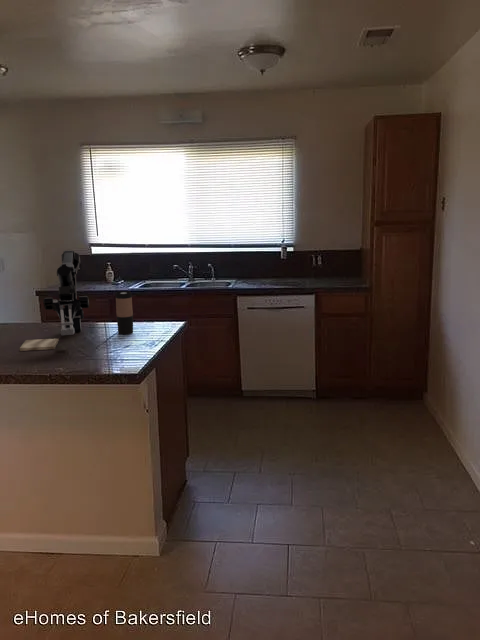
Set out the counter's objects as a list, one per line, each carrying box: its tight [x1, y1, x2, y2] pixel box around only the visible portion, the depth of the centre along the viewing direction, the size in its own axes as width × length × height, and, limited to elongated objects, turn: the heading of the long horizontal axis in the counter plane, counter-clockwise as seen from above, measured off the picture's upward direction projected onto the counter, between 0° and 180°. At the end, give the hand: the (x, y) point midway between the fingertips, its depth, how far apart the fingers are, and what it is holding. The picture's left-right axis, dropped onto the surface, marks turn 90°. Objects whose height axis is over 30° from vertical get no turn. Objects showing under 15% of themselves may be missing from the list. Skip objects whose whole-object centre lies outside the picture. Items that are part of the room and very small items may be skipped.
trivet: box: [19, 338, 59, 352], centre depth 234 cm, size 14×14×1 cm
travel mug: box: [115, 290, 134, 336], centre depth 254 cm, size 8×8×20 cm
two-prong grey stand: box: [60, 304, 76, 336], centre depth 229 cm, size 5×5×13 cm
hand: (66, 319), depth 227 cm, fingers closed on two-prong grey stand, 4 cm apart
